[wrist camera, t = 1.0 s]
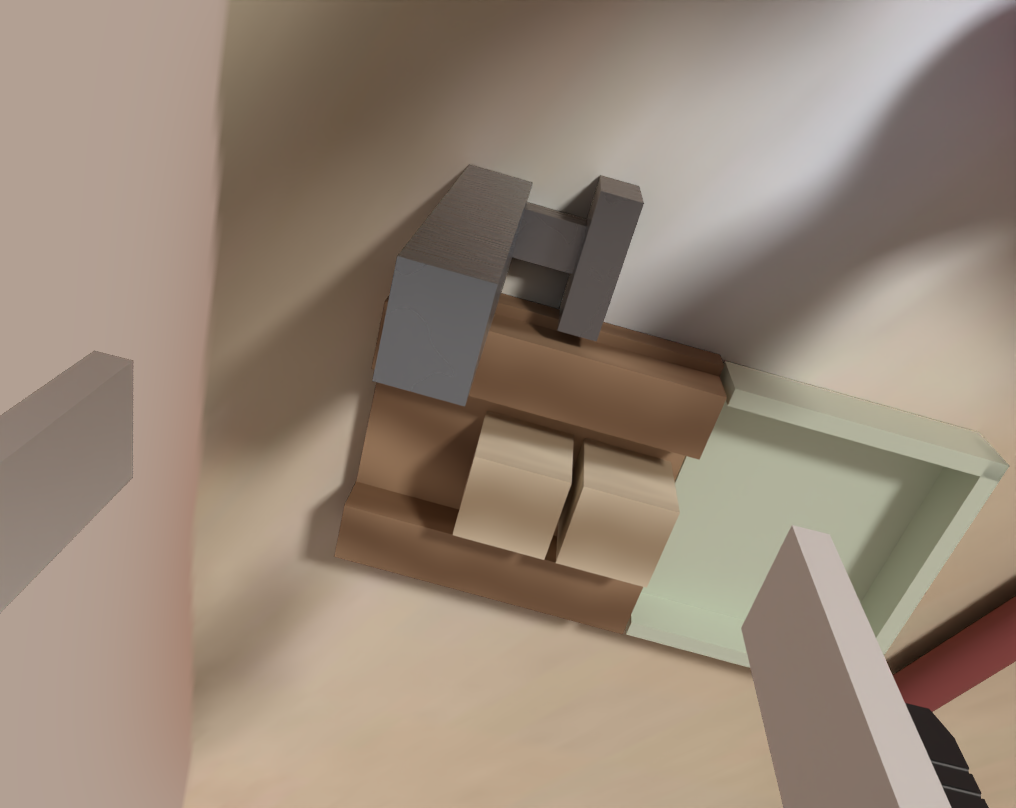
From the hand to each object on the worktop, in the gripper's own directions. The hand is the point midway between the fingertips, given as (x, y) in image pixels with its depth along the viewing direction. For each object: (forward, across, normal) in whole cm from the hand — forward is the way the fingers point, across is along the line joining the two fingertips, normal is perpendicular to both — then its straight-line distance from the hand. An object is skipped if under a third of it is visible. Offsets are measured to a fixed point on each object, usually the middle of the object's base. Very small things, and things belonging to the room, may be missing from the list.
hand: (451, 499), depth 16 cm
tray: (+19, +15, -10) cm, 26 cm away
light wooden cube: (+18, +7, -10) cm, 21 cm away
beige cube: (+18, +2, -9) cm, 20 cm away
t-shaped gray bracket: (+19, 0, +1) cm, 19 cm away
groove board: (+19, +2, -10) cm, 21 cm away
